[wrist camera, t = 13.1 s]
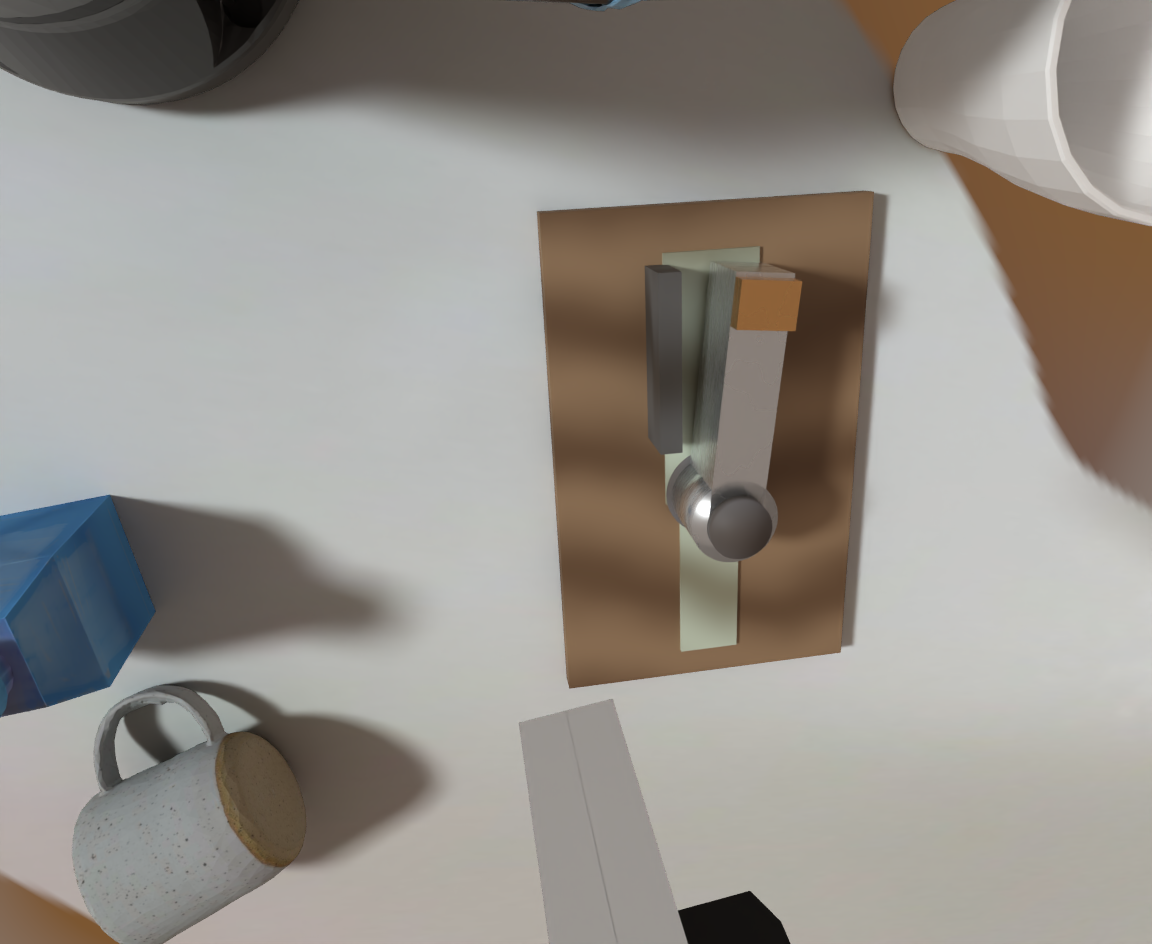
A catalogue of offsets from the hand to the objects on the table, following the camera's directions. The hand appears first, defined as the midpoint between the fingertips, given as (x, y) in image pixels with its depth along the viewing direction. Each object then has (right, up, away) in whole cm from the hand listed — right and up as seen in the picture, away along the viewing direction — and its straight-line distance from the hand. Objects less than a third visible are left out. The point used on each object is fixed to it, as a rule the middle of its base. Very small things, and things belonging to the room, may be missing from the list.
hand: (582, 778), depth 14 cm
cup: (+17, +22, +24) cm, 37 cm away
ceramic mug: (-20, -10, +31) cm, 38 cm away
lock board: (+6, +6, +29) cm, 30 cm away
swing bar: (+7, +8, +26) cm, 28 cm away
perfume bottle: (-24, +1, +26) cm, 35 cm away
